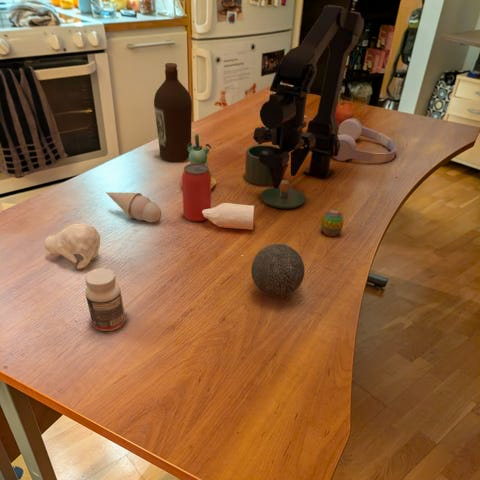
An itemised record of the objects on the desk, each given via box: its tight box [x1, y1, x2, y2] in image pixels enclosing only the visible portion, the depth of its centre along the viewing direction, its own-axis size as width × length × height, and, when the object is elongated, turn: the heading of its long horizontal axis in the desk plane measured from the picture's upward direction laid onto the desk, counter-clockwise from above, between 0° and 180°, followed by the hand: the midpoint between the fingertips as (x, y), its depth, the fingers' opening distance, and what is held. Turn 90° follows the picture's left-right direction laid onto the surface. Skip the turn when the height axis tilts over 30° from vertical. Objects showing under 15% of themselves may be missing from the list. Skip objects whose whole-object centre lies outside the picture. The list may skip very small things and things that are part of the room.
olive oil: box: [153, 62, 193, 163], centre depth 132 cm, size 11×11×25 cm
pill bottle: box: [84, 267, 126, 332], centre depth 78 cm, size 6×6×10 cm
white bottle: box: [202, 202, 255, 231], centre depth 107 cm, size 6×12×6 cm, turn 85°
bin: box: [244, 144, 279, 187], centre depth 128 cm, size 10×10×8 cm
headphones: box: [332, 117, 398, 163], centre depth 147 cm, size 22×7×20 cm
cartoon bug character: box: [180, 133, 217, 189], centre depth 120 cm, size 10×18×15 cm, turn 171°
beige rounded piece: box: [44, 222, 101, 270], centre depth 93 cm, size 6×8×12 cm
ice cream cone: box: [105, 192, 162, 223], centre depth 108 cm, size 6×6×15 cm
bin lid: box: [260, 179, 306, 209], centre depth 118 cm, size 11×11×5 cm
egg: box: [320, 208, 344, 237], centre depth 106 cm, size 5×5×6 cm
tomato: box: [335, 101, 354, 129], centre depth 165 cm, size 9×9×8 cm
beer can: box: [181, 163, 212, 222], centre depth 108 cm, size 7×7×12 cm
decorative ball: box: [250, 243, 305, 298], centre depth 87 cm, size 10×10×10 cm
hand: (284, 181), depth 117 cm, fingers open, 9 cm apart
